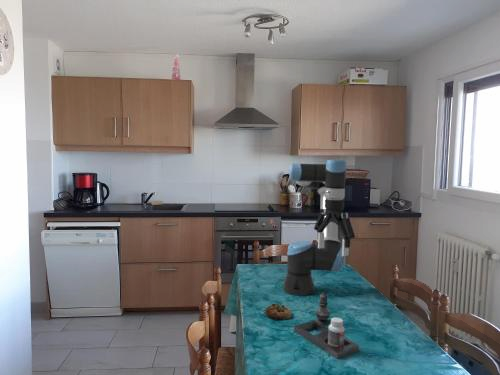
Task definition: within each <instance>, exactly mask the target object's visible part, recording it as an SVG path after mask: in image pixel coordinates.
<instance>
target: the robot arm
mask: <svg viewBox="0 0 500 375" xmlns="http://www.w3.org/2000/svg"><path fill="white" fill-rule="evenodd" d="M346 163H347V162H346V161H345V159H328V160H326V163H299V162H297V163H291V164H290V166H289V180H290V181H291V182H295V183H296V184H297V185H298V186H300V187H303V188H305V189H311V190H312V189H313V190H317V193H318V194H319V195H320V209H319V215H318V217H317V220H316V222H315V225H314V227H313V230H315V231H316V232H317V237H316V238H317V241H316V245H314V244H313V242H312V241H310V240H309V241H307V240H306V241H305V240H302V241H301V240H300V241H295V242H292V243H290V244H289V245H288V247H287V253H286V255H287V260H286V261H287V263H286V275H285V278H284V282H283V284H282V290H283V292H285V293H286V294H289V295H294V296H308V295H311V294H314V293H315V285H314V280H313V277H312V271H324V272H325V271H326V272H340V271H341V270H342V268H343V264H344V257H347V256H349V255H350V254H349V251H350V249H349V248H351V239H355V238H356V236H355V233H354V229H353V226H352V222H351V220H350V212H343V210H344V209H345V196H346V192H345V191H346V190H345V189H346V187H345V186H346V172H347V167H346V165H347V164H346ZM339 231H340V232H341V234H342V236H343V238H342V242H341V241H340V240H339Z"/></svg>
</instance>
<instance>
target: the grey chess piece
mask: <svg viewBox="0 0 500 375" xmlns="http://www.w3.org/2000/svg"><path fill="white" fill-rule="evenodd" d="M328 305H329V304H328V296H327V294H325V292H324V291H323V292H322V293H321V294H320V295H319V301H318V309H317V310H315V312H314V313H315V315H316V319H315V321H317V322H319V323H320V324H322V325H324V326H325V325H330V321H329V318H330V315H331V312H330V311H329V310H328Z"/></svg>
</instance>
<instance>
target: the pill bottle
mask: <svg viewBox="0 0 500 375" xmlns="http://www.w3.org/2000/svg"><path fill="white" fill-rule="evenodd" d="M345 329H346V328H345V326H344V319H342V318H340V317H332V318H330V323H329V324H328V344H329V345H330V346H332V347H334V348H335V349H338V348H341V347H344V337H345V331H346V330H345Z"/></svg>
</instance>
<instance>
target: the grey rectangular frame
mask: <svg viewBox="0 0 500 375" xmlns="http://www.w3.org/2000/svg"><path fill="white" fill-rule="evenodd" d="M328 328H329V326H328V327H327V326H325V325H323V324H320V323H319V322H317V321H316V319H315V320H312V321H307V322H303V323H300V324H297V325H294V326H293V332H294V333H296V334H298V335H299V336H300V337H302V338H303V339H306V341H308V342H309V343H312V344H313V345H315V346H316V347H318V348H320V349H321V350H322V351H324V352H325V353H327V354H328V355H330V356H332V357H333V358H334V359H336V360H338V359H341V358H344V357H346V356H350V355H352V354H355V353H358V352H359V351H360V345H359V344H357V343H356V342H354V341H353V340H351V339H350V338H349V339H348V338H347V337H345V336H344V347H341V348H338V349H335V348H334V347H332V346H330V345H329V344H328ZM313 329H316V330H317V331H319V333H317V334H312V333H311V332H309V331H311V330H313Z"/></svg>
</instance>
